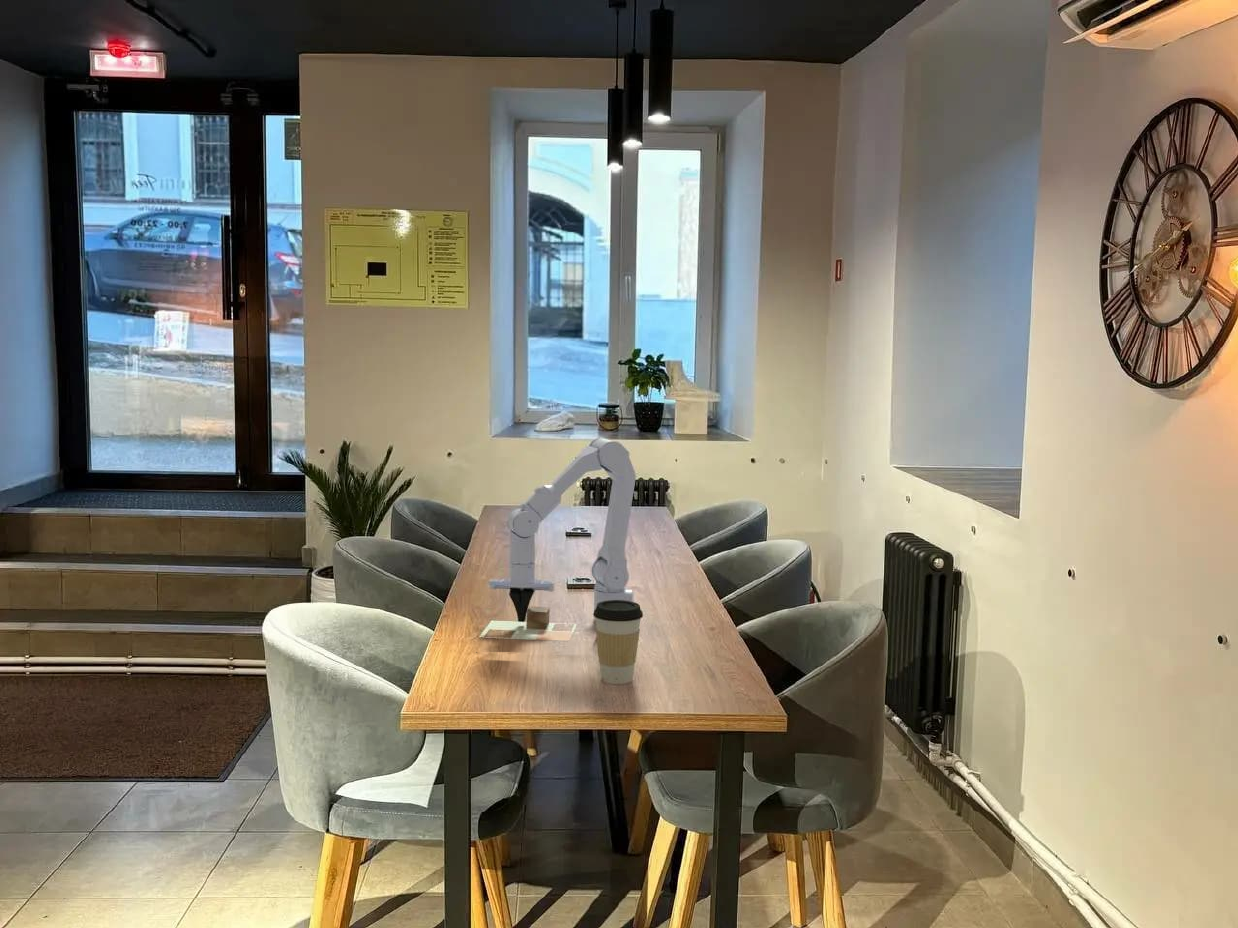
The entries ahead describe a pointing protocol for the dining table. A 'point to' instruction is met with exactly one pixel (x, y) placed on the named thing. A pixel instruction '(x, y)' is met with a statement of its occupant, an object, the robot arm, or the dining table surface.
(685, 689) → the dining table surface
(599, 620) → the coffee cup
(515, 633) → the board
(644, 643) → the dining table surface
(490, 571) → the dining table surface
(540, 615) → the block
